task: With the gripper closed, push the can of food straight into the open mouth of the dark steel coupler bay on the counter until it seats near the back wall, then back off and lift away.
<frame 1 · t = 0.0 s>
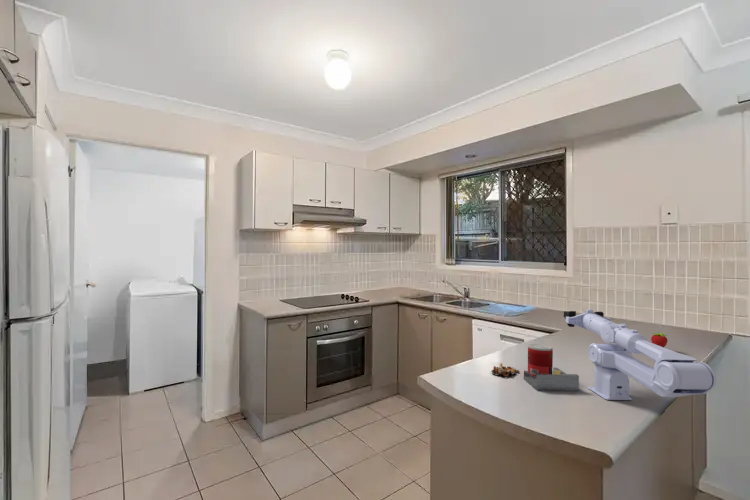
hand: (575, 314, 132), 22 cm above the countertop, tool horizontal, fingers open, 7 cm apart
coupler bay: (549, 384, 120), on the countertop
canned food: (539, 377, 127), on the countertop
brown jagged clump: (505, 374, 131), on the countertop
strawberry: (659, 352, 163), on the countertop
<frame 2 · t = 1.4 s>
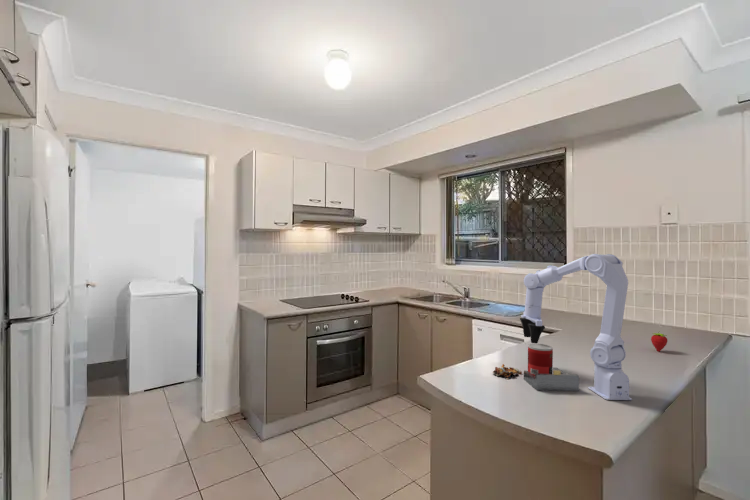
hand: (530, 339, 137), 11 cm above the countertop, tool pointing down, fingers open, 7 cm apart
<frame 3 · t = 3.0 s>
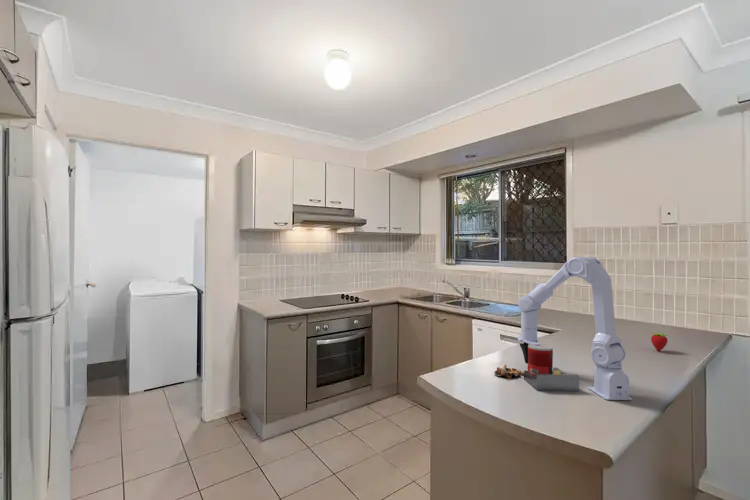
hand: (528, 363, 136), 2 cm above the countertop, tool pointing down, fingers closed
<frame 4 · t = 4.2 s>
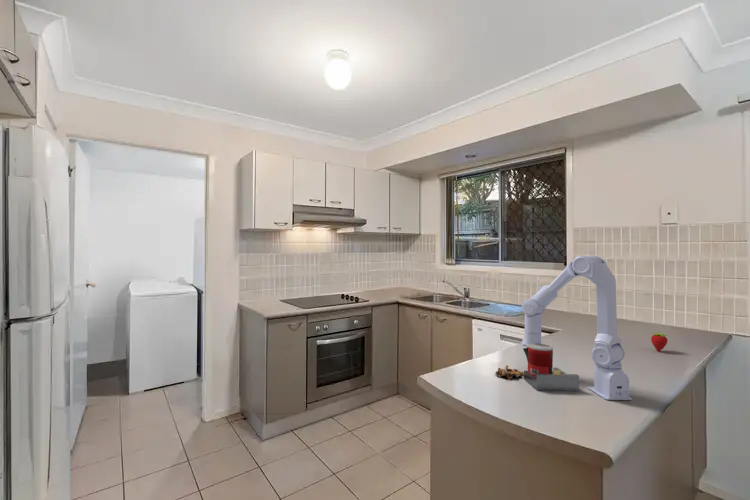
hand: (532, 368, 133), 1 cm above the countertop, tool pointing down, fingers closed
canned food: (539, 377, 127), on the countertop, touching gripper
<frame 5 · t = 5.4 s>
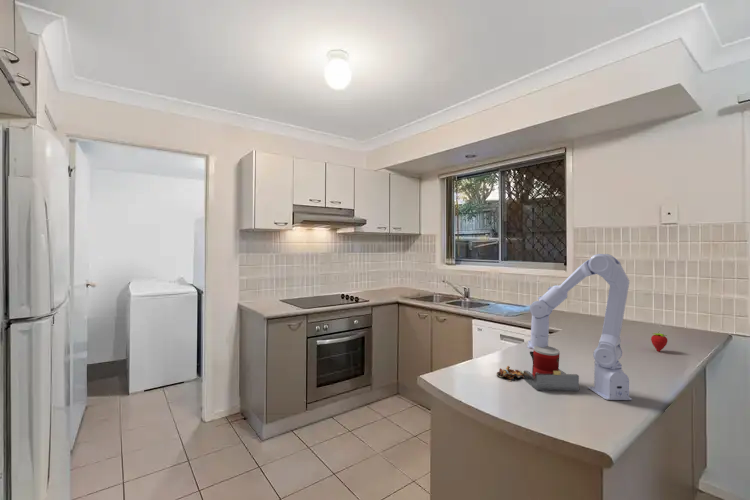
hand: (537, 372, 127), 2 cm above the countertop, tool pointing down, fingers closed, pressing on canned food
canned food: (544, 380, 123), on the countertop, touching gripper
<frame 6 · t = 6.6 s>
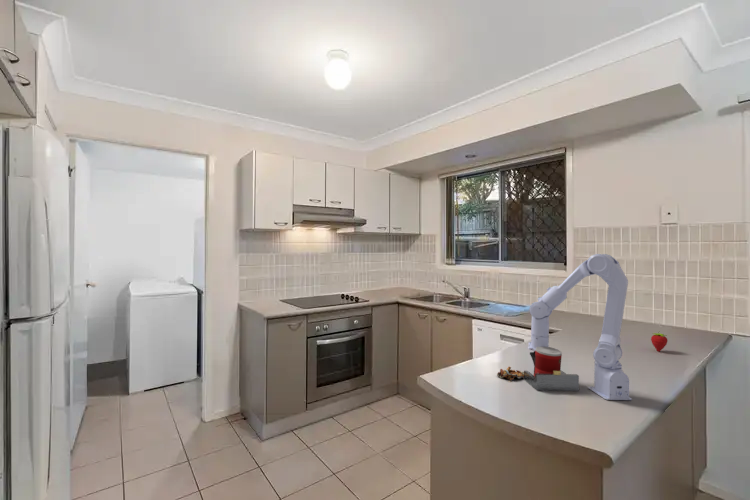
hand: (538, 373, 127), 1 cm above the countertop, tool pointing down, fingers closed, pressing on canned food
canned food: (546, 382, 122), on the countertop, touching gripper
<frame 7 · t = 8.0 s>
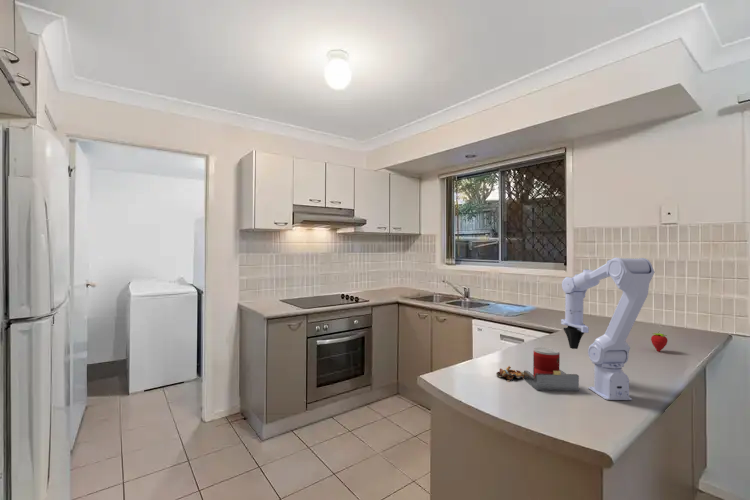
hand: (573, 348, 129), 10 cm above the countertop, tool pointing down, fingers closed
canned food: (546, 382, 122), on the countertop
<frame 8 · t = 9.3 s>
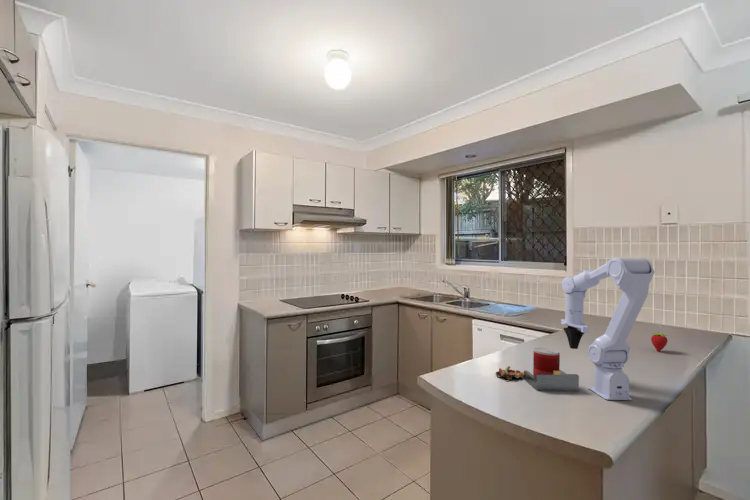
hand: (573, 348, 129), 10 cm above the countertop, tool pointing down, fingers closed
at the end: canned food 1.2 cm off-centre on the coupler bay, point 0.0 cm above the coupler bay's base; canned food tilted 1°; canned food moved 5.3 cm from its start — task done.
